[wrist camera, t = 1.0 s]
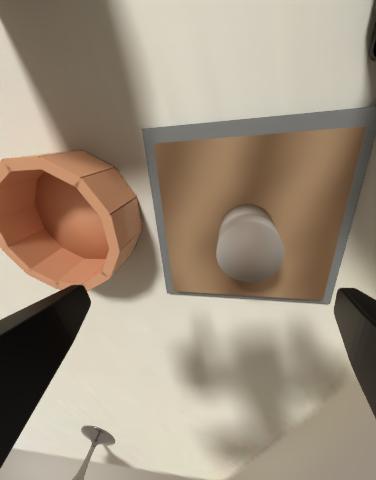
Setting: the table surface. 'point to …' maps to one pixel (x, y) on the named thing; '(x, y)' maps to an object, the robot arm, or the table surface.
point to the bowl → (67, 217)
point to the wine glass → (93, 445)
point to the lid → (256, 210)
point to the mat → (359, 117)
